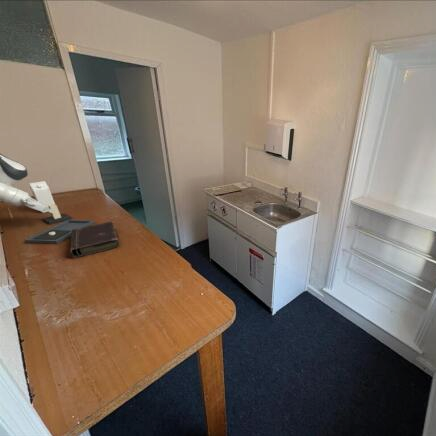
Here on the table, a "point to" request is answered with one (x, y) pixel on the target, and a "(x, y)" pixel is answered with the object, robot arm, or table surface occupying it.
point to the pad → (53, 234)
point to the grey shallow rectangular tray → (62, 226)
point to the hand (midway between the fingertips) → (49, 209)
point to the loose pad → (50, 219)
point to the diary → (93, 239)
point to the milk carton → (42, 193)
